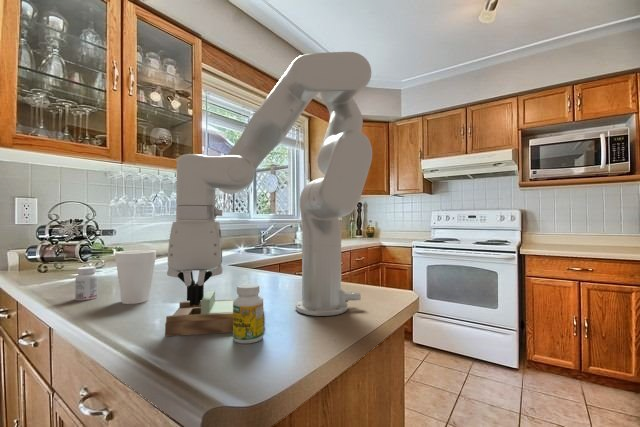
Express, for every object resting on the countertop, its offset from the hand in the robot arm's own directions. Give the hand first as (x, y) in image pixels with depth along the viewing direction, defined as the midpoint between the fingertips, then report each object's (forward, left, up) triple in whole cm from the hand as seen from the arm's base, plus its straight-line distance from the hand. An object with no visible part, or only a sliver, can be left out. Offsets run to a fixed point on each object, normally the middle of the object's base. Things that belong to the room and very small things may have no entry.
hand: (195, 303), depth 64 cm
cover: (-6, 0, -2) cm, 6 cm away
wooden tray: (-5, 0, -4) cm, 6 cm away
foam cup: (+19, -23, -4) cm, 30 cm away
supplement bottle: (-11, +10, -4) cm, 15 cm away
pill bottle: (+33, -28, -4) cm, 44 cm away
